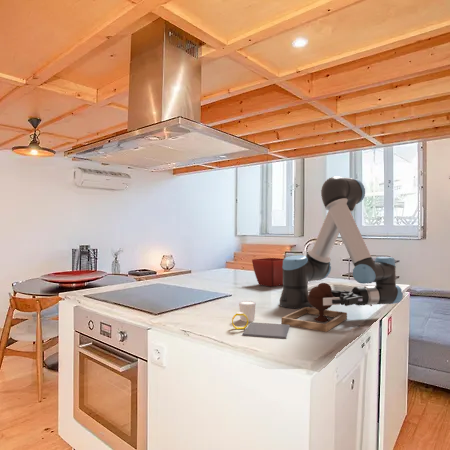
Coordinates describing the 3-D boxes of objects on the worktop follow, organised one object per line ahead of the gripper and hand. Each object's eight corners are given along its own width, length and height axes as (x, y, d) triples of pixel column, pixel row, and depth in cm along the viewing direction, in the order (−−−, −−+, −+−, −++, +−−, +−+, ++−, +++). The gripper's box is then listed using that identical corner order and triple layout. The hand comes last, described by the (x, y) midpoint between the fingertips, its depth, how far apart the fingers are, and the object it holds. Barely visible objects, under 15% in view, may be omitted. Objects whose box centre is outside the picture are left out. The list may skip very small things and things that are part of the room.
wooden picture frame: (281, 323, 133) (281, 317, 133) (305, 312, 151) (305, 306, 151) (326, 331, 122) (326, 325, 122) (346, 318, 140) (346, 312, 140)
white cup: (245, 316, 145) (245, 300, 145) (259, 319, 140) (259, 302, 140) (235, 320, 139) (235, 303, 139) (249, 323, 135) (249, 305, 135)
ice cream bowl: (329, 316, 144) (329, 280, 144) (339, 323, 132) (339, 284, 133) (304, 316, 143) (304, 280, 143) (312, 324, 132) (311, 285, 132)
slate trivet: (242, 335, 119) (242, 333, 119) (250, 323, 134) (250, 322, 134) (286, 338, 115) (286, 336, 115) (289, 326, 130) (289, 324, 130)
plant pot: (271, 281, 238) (271, 257, 239) (293, 285, 224) (292, 259, 224) (251, 284, 226) (251, 259, 226) (273, 288, 212) (272, 261, 212)
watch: (247, 328, 129) (248, 312, 129) (248, 330, 126) (248, 313, 126) (231, 327, 129) (232, 311, 129) (231, 329, 126) (232, 313, 126)
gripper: (383, 312, 129) (330, 315, 125) (348, 298, 153) (303, 301, 150) (383, 292, 129) (330, 294, 125) (348, 282, 153) (303, 283, 150)
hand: (315, 298), depth 137 cm, fingers open, 13 cm apart
